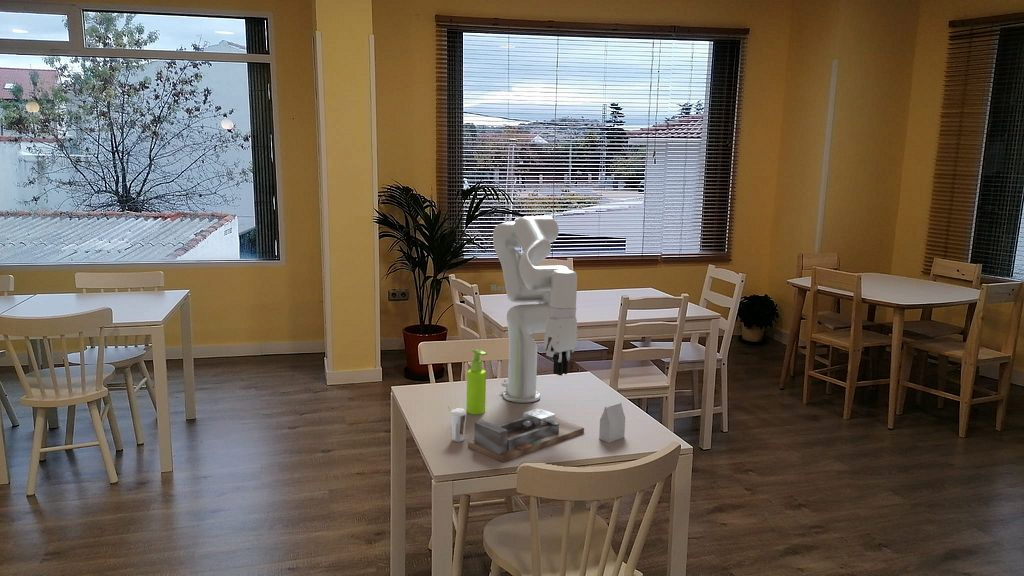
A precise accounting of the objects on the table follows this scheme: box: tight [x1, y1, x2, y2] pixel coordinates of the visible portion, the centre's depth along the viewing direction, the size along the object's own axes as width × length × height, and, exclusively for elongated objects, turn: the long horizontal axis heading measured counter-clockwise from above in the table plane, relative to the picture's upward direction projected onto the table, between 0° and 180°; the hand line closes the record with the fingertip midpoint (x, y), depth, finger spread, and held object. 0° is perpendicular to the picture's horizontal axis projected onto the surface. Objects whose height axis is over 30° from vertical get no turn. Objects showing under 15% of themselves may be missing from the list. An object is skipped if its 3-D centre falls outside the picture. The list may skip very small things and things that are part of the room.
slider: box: [521, 407, 557, 431], centre depth 211 cm, size 9×10×5 cm
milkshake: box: [447, 406, 468, 443], centre depth 208 cm, size 4×5×10 cm
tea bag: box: [598, 402, 626, 444], centre depth 213 cm, size 4×7×10 cm, turn 131°
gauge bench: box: [467, 417, 585, 463], centre depth 210 cm, size 33×14×8 cm, turn 134°
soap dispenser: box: [466, 348, 488, 415], centre depth 231 cm, size 6×7×20 cm
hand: (560, 373), depth 217 cm, fingers closed
